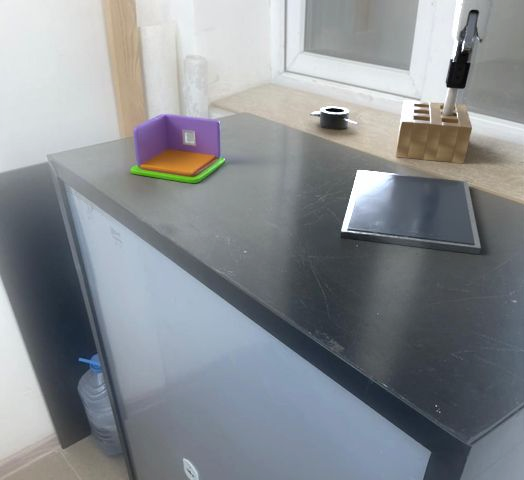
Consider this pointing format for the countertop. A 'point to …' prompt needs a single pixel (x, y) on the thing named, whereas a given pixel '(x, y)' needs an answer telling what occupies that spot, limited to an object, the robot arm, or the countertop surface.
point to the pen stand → (433, 132)
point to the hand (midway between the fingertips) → (455, 85)
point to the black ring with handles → (333, 117)
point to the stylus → (450, 101)
